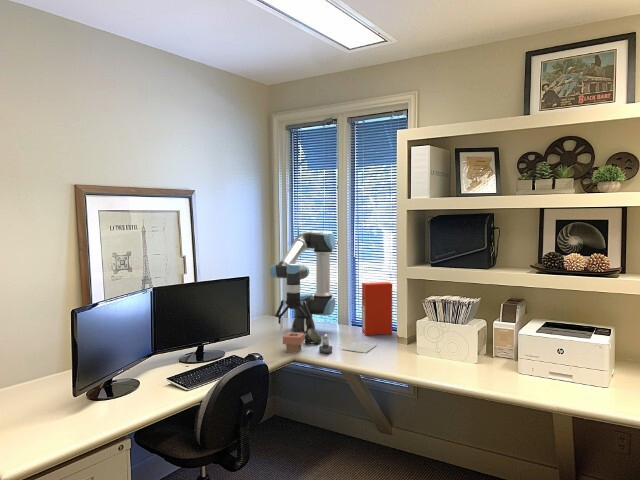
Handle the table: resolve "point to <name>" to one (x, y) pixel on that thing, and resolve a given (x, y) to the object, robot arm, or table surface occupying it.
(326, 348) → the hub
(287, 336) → the salmon square frame
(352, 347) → the paper stack
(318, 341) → the fossil
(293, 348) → the stand
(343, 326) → the table surface
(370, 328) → the file binder
